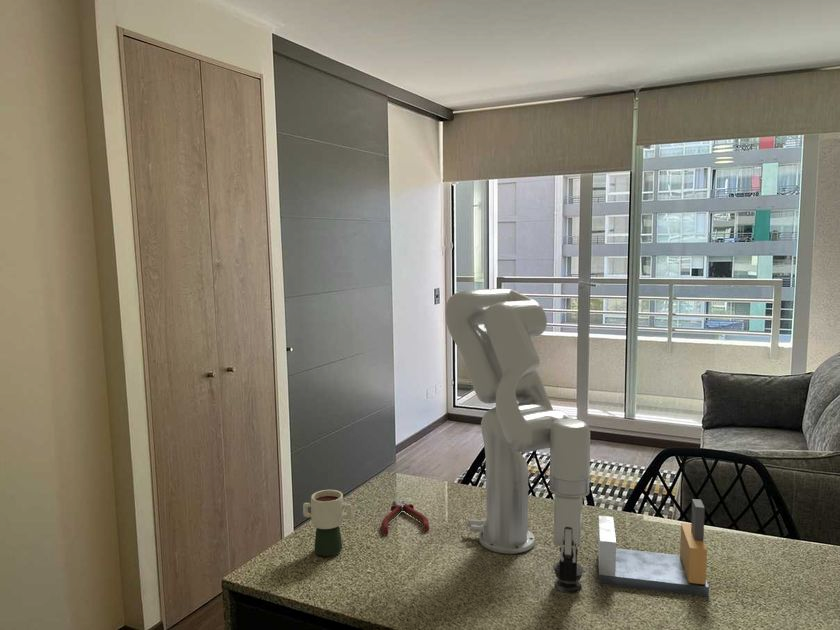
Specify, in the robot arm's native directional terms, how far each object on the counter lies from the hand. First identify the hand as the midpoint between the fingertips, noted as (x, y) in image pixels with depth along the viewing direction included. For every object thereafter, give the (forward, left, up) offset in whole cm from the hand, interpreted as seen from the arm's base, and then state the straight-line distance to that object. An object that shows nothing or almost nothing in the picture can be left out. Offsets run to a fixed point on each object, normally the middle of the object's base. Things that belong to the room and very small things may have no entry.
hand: (568, 570), depth 121 cm
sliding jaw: (+24, +8, -1) cm, 25 cm away
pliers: (-39, +23, -4) cm, 46 cm away
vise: (+16, +8, -3) cm, 18 cm away
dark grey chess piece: (0, 0, -3) cm, 3 cm away
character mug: (-52, +2, -3) cm, 52 cm away
